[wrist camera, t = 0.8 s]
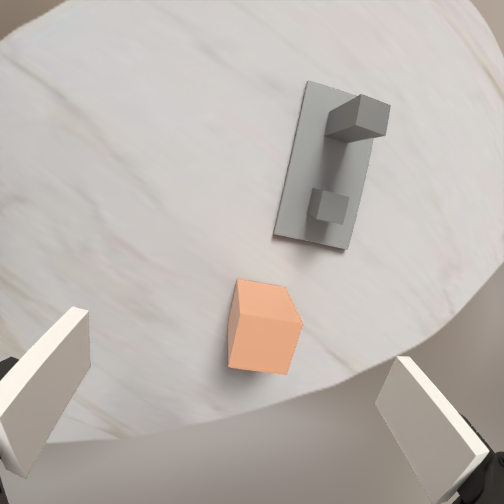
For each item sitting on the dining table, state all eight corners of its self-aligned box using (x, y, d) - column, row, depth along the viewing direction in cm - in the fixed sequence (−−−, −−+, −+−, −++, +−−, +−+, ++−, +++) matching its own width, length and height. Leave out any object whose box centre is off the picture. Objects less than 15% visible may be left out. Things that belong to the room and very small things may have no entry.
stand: (273, 233, 32) (289, 255, 24) (306, 82, 29) (333, 53, 20) (345, 248, 33) (382, 274, 25) (377, 105, 30) (421, 88, 21)
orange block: (227, 322, 34) (228, 367, 26) (237, 278, 33) (240, 313, 25) (274, 330, 35) (286, 374, 27) (285, 287, 34) (303, 323, 26)
